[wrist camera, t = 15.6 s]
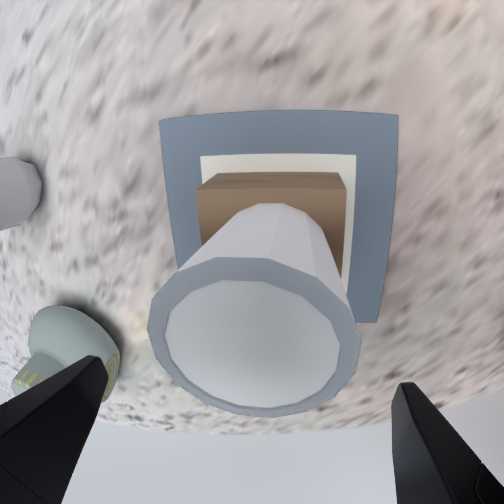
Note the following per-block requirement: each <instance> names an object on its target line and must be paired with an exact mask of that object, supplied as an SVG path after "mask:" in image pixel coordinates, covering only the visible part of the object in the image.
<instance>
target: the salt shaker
mask: <svg viewBox="0 0 504 504" xmlns="http://www.w3.org/2000/svg"><path fill="white" fill-rule="evenodd" d="M42 183H43V182H42V180H41V178H40V176H39V174H38V172H37V169H36V167H35V165H34V164H30V163H27V162H24V161H22V160H19V159H17V158H14V157H6V158H0V231H1V230H4V229H7V228H11V227H14V226H18V225H20V224H21V223H22V222H24V221H25V220H26V219H27V218H28V217H29V216H30V215H31V213H32V212H33V210H34V209H35V208H36V206H37V205H38V203H39V202H40V197H41V190H42Z"/></svg>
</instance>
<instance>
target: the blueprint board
mask: <svg viewBox="0 0 504 504" xmlns="http://www.w3.org/2000/svg"><path fill="white" fill-rule="evenodd" d="M159 127H160V137H161V148H162V157H163V166H164V175H165V183H166V192H167V199H168V207H169V214H170V221H171V228H172V235H173V241H174V248H175V254H176V260H177V266H178V270H179V269H180V268H181V267H182V266H183V265H184V264H185V263H186V262H187V261H188V260H189V259H190V258H191V257H192V256H193V255H194V254H195V253H196V252H197V251H198V250H199V249H200V248H201V247H202V243H201V235H200V227H199V218H198V209H197V200H196V191H195V190H196V189H197V188H198V187H200V186H201V185H202V184H204V183H205V182H206V181H208V180H209V179H210V178H212V177H213V176H214V175H215V174H217V173H235V172H338V173H339V175H340V177H341V179H342V181H343V183H344V185H345V187H346V189H347V196H346V218H345V235H344V250H343V263H342V274H341V281H342V284H343V287H344V290H345V293H346V296H347V299H348V302H349V305H350V308H351V311H352V314H353V317H354V320H355V323H377V318H378V313H379V308H380V303H381V297H382V292H383V286H384V280H385V274H386V267H387V261H388V254H389V246H390V239H391V230H392V222H393V212H394V201H395V189H396V174H397V155H398V115H393V114H382V113H369V112H353V111H329V110H271V111H247V112H230V113H217V114H206V115H196V116H187V117H178V118H170V119H163V120H159Z"/></svg>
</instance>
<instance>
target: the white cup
mask: <svg viewBox="0 0 504 504" xmlns="http://www.w3.org/2000/svg"><path fill="white" fill-rule="evenodd" d="M147 331H148V334H149V338H150V341H151V344H152V347H153V350H154V354H155V357H156V359H157V360H158V362H159V363H160V364H161V365H162V367H163V368H164V369H165V370H166V372H167V373H168V374H169V375H170V377H171V378H172V379H173V380H174V381H175V383H176V384H178V385H179V386H180V387H182V388H183V389H185V390H186V391H188V392H189V393H191V394H192V395H194V396H195V397H196V398H198V399H200V400H201V401H203V402H204V403H206V404H209V405H212V406H215V407H217V408H220V409H223V410H226V411H229V412H232V413H235V414H238V415H248V416H258V417H271V418H273V417H279V416H285V415H291V414H297V413H302V412H306V411H308V410H310V409H312V408H314V407H316V406H318V405H320V404H322V403H324V402H326V401H328V400H330V399H332V398H333V397H335V396H336V395H337V394H338V393H339V391H340V390H341V389H342V388H343V387H344V386H345V384H346V383H347V382H348V381H349V380H350V378H351V377H352V376H353V375H354V374H355V371H356V366H357V361H358V357H359V352H360V347H361V339H360V336H359V333H358V330H357V326H356V323H355V320H354V317H353V314H352V311H351V308H350V305H349V302H348V299H347V296H346V293H345V290H344V287H343V284H342V281H341V278H340V275H339V273H338V270H337V267H336V264H335V261H334V258H333V256H332V253H331V250H330V248H329V245H328V243H327V240H326V238H325V235H324V233H323V230H322V228H321V227H320V226H319V225H318V224H317V223H316V222H315V221H314V220H313V219H312V218H311V217H310V216H309V215H308V214H307V213H306V212H304V211H301V210H299V209H296V208H294V207H291V206H289V205H286V204H284V203H258V204H256V205H254V206H251V207H249V208H246V209H244V210H242V211H239V212H238V213H236V214H235V215H234V216H233V217H232V218H231V219H230V220H229V221H228V222H227V223H226V224H225V225H224V226H223V227H222V228H221V229H220V230H219V231H218V232H217V233H215V234H214V235H213V236H212V237H211V238H210V239H209V240H208V241H207V242H206V243H205V244H204V245H203V246H202V247H201V248H200V249H199V250H198V251H197V252H196V253H195V254H194V255H193V256H192V257H191V258H190V259H189V260H188V261H187V262H186V263H185V264H184V265H183V266H182V267H181V268H180V269H179V270H178V271H177V272H176V273H175V274H174V275H173V276H172V277H171V278H170V279H169V280H168V282H167V283H166V284H165V285H164V286H163V287H162V288H161V290H160V291H159V292H158V293H157V294H156V295H155V296H154V298H153V299H152V303H151V309H150V314H149V320H148V326H147Z"/></svg>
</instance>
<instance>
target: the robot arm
mask: <svg viewBox="0 0 504 504" xmlns="http://www.w3.org/2000/svg"><path fill="white" fill-rule="evenodd" d="M108 379H109V375H108V372H107V370H106V368H105V366H104V363H103V361H102V359H101V358H100V357H98V356H94V355H87V356H85V357H84V358H82V359H80V360H78V361H77V362H75V363H73V364H72V365H70V366H68V367H66V368H65V369H63V370H61V371H59V372H58V373H56V374H54V375H52V376H51V377H49V378H47V379H45V380H44V381H42V382H40V383H38V384H37V385H35V386H33V387H31V388H30V389H28V390H26V391H24V392H23V393H21V394H19V395H17V396H16V397H14V398H12V399H10V400H9V401H8V402H5V403H3V404H2V405H0V504H61V503H62V500H63V497H64V495H65V492H66V489H67V487H68V484H69V482H70V479H71V476H72V474H73V471H74V469H75V466H76V464H77V461H78V459H79V457H80V454H81V452H82V449H83V447H84V445H85V442H86V440H87V438H88V435H89V433H90V431H91V428H92V426H93V424H94V421H95V419H96V416H97V413H98V411H99V407H100V404H101V401H102V398H103V395H104V392H105V389H106V386H107V383H108ZM391 412H392V455H393V465H394V474H395V484H396V495H397V504H504V487H503V486H502V485H501V484H500V483H499V482H498V480H497V479H496V478H495V477H494V476H493V475H492V474H491V472H490V471H489V470H488V469H487V468H486V466H485V465H484V464H483V463H482V464H481V460H480V459H479V458H478V457H477V455H476V454H475V453H474V452H473V451H472V449H471V448H470V447H469V446H468V445H467V443H466V442H465V441H464V440H463V439H462V438H461V436H460V435H459V434H458V433H457V432H456V430H455V429H454V428H453V427H452V426H451V424H450V423H449V422H448V421H447V420H446V419H445V417H444V416H443V415H442V414H441V413H440V412H439V410H438V409H437V408H436V407H435V406H434V405H433V403H432V402H431V401H430V400H429V399H428V398H427V397H426V395H425V394H424V393H423V392H422V391H421V390H420V389H419V387H418V386H417V385H416V384H415V383H413V382H403V383H400V384H399V385H398V388H397V390H396V393H395V395H394V398H393V400H392V405H391Z"/></svg>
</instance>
